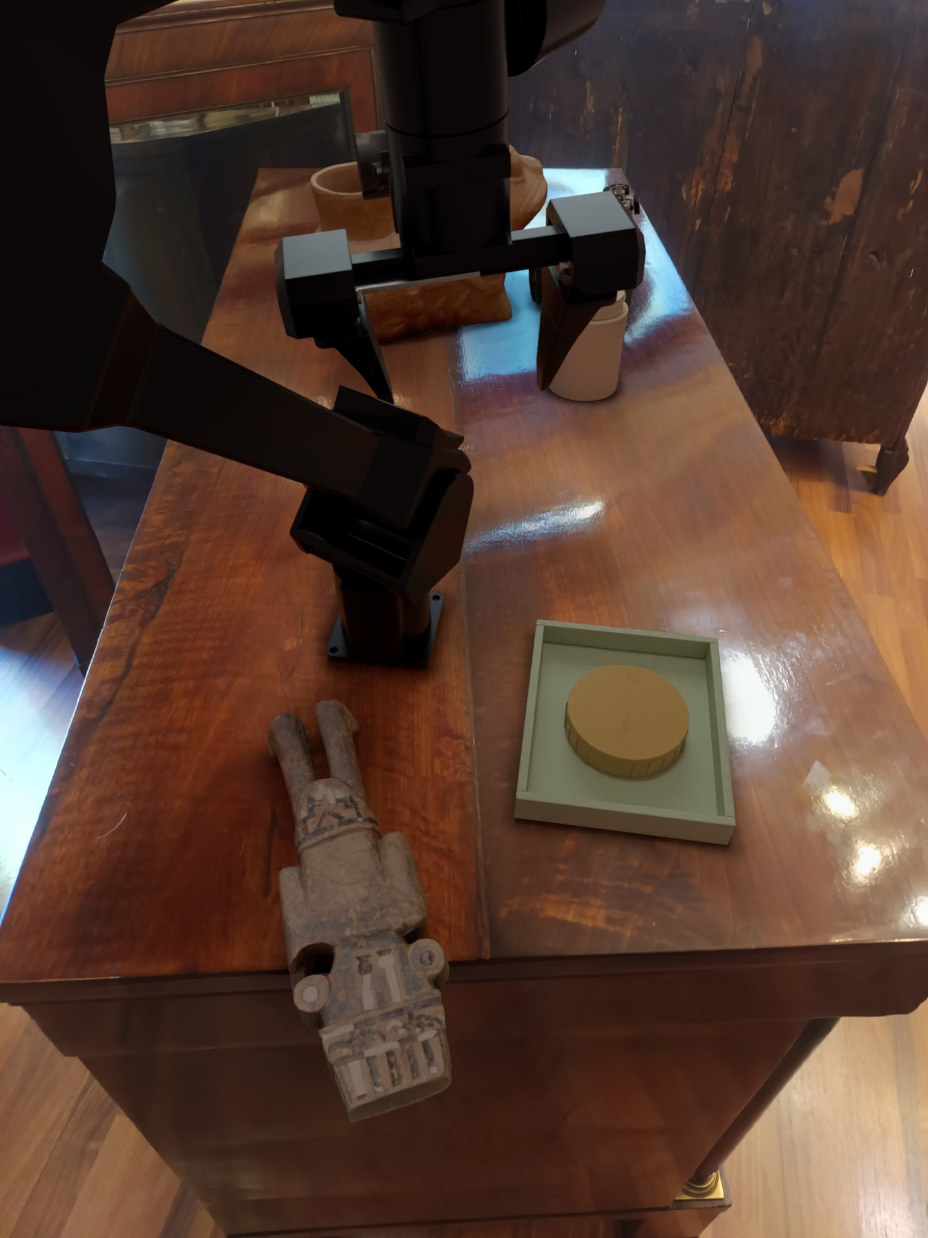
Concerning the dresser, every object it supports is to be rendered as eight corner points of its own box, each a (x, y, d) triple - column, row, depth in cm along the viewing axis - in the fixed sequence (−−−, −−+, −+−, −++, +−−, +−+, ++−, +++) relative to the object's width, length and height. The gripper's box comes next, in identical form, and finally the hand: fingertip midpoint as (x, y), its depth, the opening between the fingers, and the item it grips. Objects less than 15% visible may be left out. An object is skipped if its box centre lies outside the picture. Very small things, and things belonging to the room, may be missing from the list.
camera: (548, 280, 93) (537, 186, 86) (645, 270, 90) (641, 171, 83) (528, 340, 83) (514, 238, 76) (637, 331, 80) (632, 224, 73)
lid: (604, 665, 50) (607, 646, 49) (705, 720, 47) (712, 701, 46) (540, 736, 46) (542, 717, 45) (646, 801, 43) (651, 783, 42)
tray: (727, 845, 42) (736, 826, 41) (514, 818, 43) (515, 798, 42) (711, 658, 51) (718, 637, 50) (534, 639, 52) (536, 618, 51)
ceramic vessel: (566, 314, 84) (581, 152, 74) (317, 361, 77) (294, 190, 67) (511, 263, 93) (517, 112, 83) (284, 301, 86) (258, 142, 76)
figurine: (255, 774, 47) (325, 1163, 33) (233, 718, 43) (300, 1127, 29) (373, 739, 48) (487, 1099, 34) (360, 682, 45) (482, 1058, 31)
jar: (616, 404, 72) (630, 309, 66) (544, 398, 73) (551, 304, 67) (617, 368, 76) (631, 276, 70) (549, 363, 77) (556, 271, 71)
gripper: (598, 31, 43) (583, 306, 55) (242, 78, 42) (307, 348, 54) (666, 109, 36) (632, 405, 48) (241, 168, 35) (316, 455, 47)
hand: (467, 398), depth 49 cm, fingers open, 9 cm apart
